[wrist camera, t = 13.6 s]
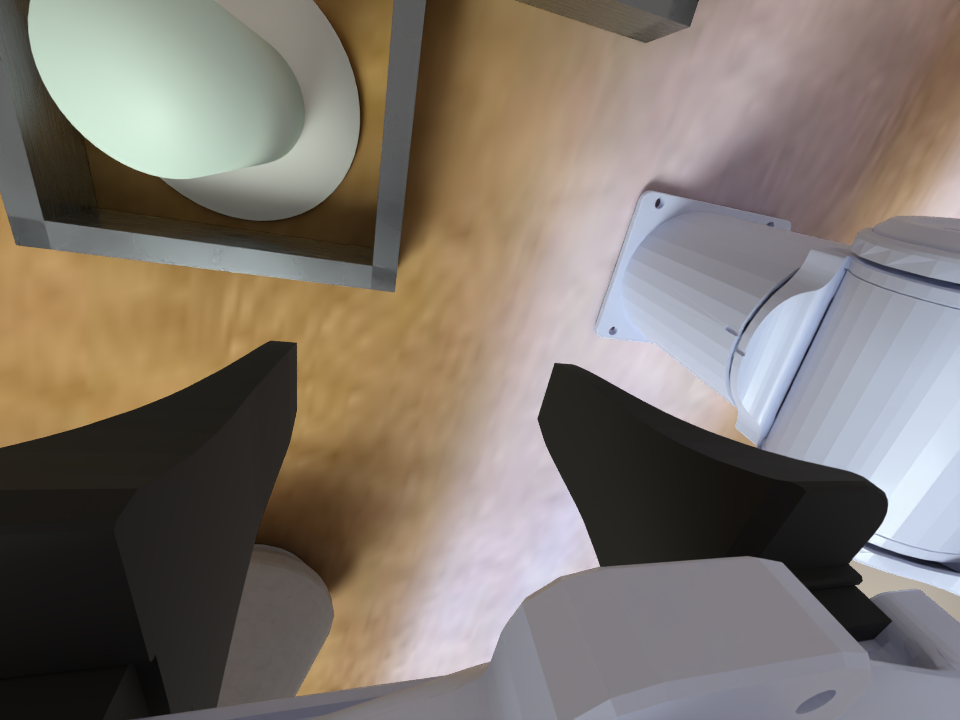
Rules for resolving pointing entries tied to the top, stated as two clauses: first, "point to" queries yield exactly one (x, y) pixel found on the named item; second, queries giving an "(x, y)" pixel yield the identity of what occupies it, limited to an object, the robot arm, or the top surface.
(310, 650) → the coffee pot
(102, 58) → the peg
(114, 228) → the grey notched frame
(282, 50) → the end pad
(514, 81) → the top surface
